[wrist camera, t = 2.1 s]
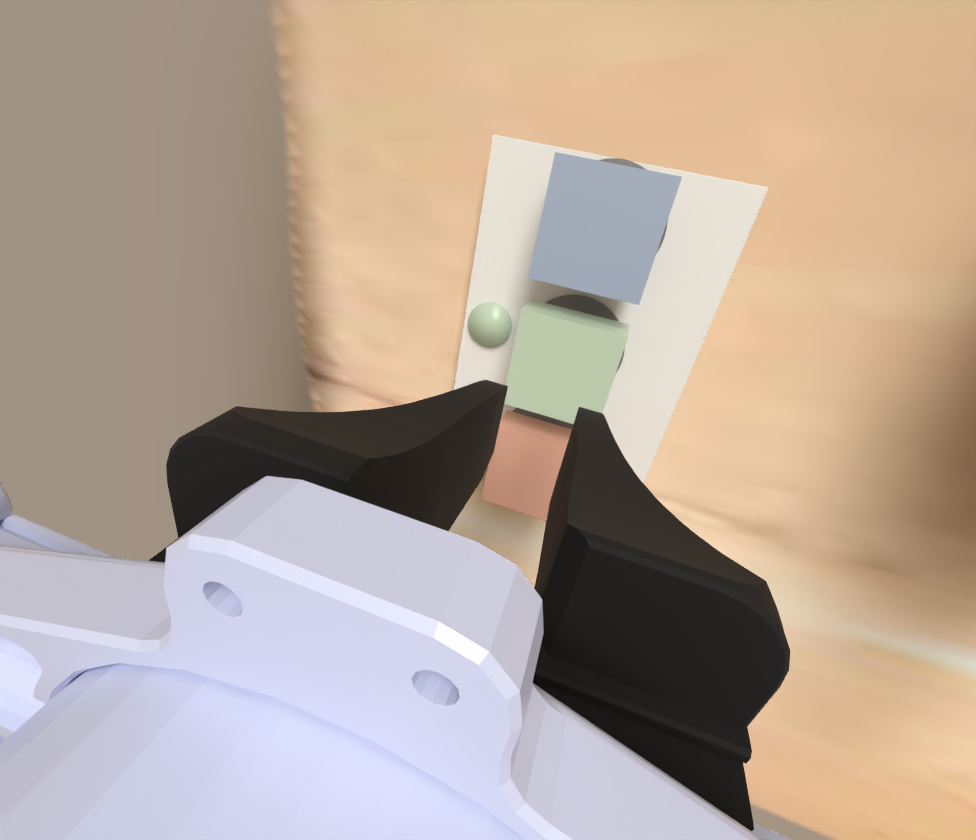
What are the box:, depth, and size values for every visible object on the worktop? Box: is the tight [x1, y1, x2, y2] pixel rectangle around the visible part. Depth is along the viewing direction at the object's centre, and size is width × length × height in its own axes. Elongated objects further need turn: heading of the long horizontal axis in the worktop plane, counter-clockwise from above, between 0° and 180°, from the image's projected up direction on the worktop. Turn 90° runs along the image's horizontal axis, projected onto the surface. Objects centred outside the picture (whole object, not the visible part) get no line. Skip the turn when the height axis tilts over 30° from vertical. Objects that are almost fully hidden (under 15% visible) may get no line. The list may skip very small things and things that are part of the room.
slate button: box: [528, 152, 682, 305], centre depth 14 cm, size 4×4×2 cm
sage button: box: [504, 300, 630, 424], centre depth 16 cm, size 4×4×2 cm
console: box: [454, 134, 769, 483], centre depth 19 cm, size 13×9×2 cm
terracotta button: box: [481, 410, 572, 521], centre depth 19 cm, size 4×4×2 cm
